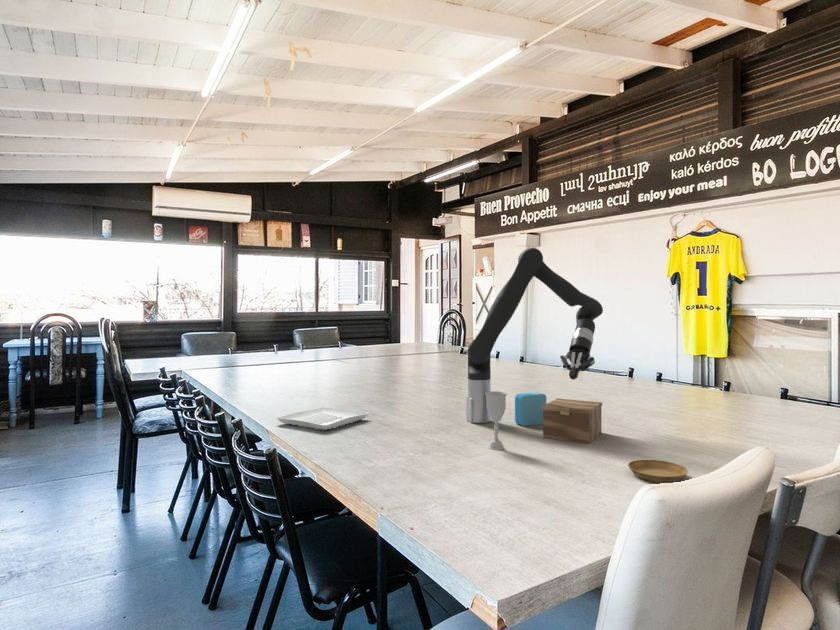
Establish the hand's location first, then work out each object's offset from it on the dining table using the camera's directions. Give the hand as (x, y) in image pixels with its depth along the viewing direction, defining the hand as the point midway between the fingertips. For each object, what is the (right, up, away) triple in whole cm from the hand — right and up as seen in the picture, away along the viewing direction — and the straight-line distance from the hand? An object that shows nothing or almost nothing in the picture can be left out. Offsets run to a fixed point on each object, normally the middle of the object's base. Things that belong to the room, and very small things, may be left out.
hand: (572, 378), depth 182 cm
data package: (-11, -21, +18) cm, 30 cm away
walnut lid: (0, -11, 0) cm, 11 cm away
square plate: (-94, -22, +23) cm, 99 cm away
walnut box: (0, -21, 0) cm, 21 cm away
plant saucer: (+9, -22, -45) cm, 51 cm away
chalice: (-30, -21, -16) cm, 40 cm away
